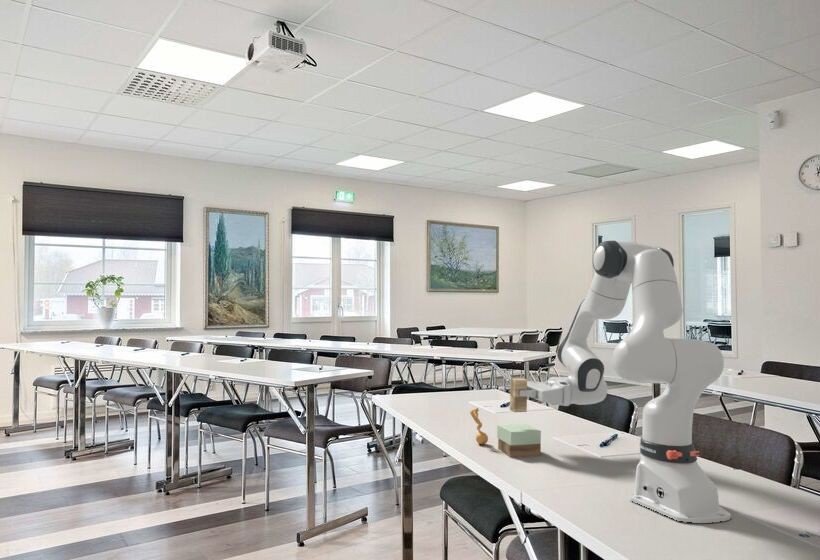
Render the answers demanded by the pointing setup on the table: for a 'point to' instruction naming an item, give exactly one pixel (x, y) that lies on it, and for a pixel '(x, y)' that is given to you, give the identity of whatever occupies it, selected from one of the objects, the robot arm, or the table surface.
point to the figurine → (481, 436)
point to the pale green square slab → (518, 434)
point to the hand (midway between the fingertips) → (515, 391)
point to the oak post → (518, 401)
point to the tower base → (519, 449)
